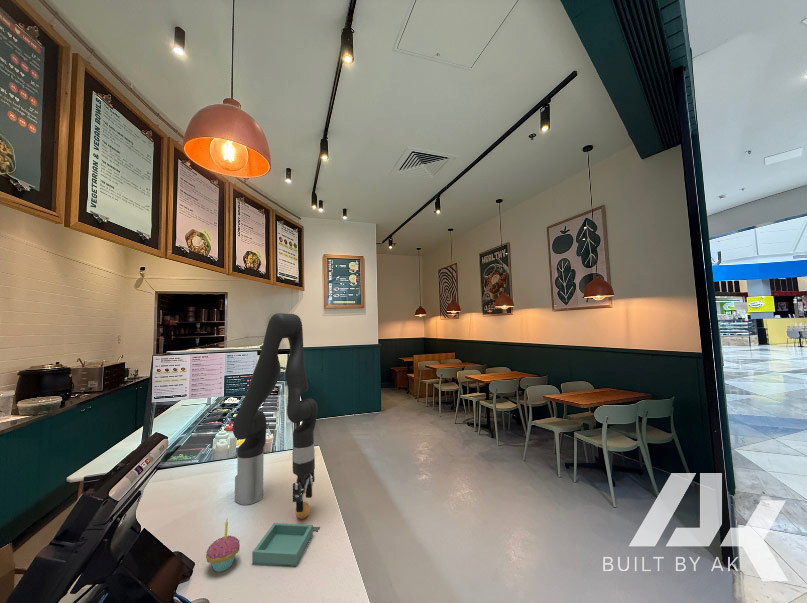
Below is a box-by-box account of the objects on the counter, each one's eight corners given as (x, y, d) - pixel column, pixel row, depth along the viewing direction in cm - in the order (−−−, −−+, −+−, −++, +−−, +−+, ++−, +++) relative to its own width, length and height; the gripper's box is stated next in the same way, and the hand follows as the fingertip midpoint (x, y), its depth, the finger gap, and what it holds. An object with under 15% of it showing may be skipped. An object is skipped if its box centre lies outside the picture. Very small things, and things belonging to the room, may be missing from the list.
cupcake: (215, 555, 97) (215, 514, 98) (244, 553, 98) (245, 512, 99) (199, 579, 89) (200, 533, 89) (232, 576, 90) (232, 531, 90)
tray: (252, 564, 94) (252, 551, 94) (274, 533, 107) (274, 522, 107) (296, 567, 93) (296, 554, 93) (312, 535, 106) (312, 524, 106)
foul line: (274, 529, 109) (274, 528, 109) (276, 525, 111) (276, 524, 111) (318, 531, 108) (317, 530, 108) (320, 527, 110) (320, 526, 110)
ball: (292, 521, 113) (292, 506, 113) (298, 512, 118) (298, 498, 118) (306, 522, 113) (306, 507, 113) (312, 513, 117) (312, 499, 118)
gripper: (301, 449, 123) (301, 493, 123) (284, 466, 109) (285, 516, 109) (320, 449, 123) (321, 493, 122) (306, 466, 109) (307, 516, 108)
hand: (304, 504), depth 115 cm, fingers open, 8 cm apart
